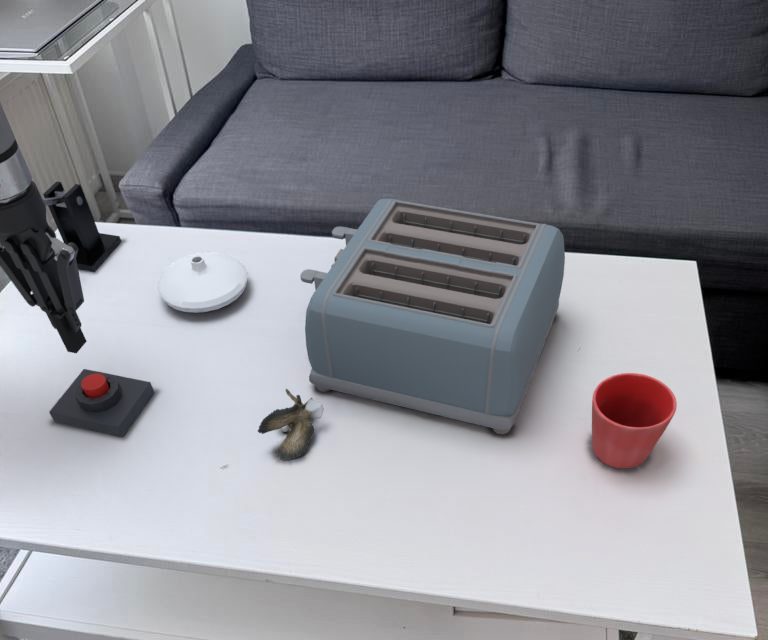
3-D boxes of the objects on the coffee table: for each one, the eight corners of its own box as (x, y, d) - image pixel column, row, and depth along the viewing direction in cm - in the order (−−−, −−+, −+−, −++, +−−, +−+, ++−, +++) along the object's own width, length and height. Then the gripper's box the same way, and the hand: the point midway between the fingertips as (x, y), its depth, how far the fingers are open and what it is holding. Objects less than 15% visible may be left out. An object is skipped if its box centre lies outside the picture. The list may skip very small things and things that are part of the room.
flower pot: (567, 433, 108) (578, 383, 101) (635, 414, 110) (651, 364, 102) (602, 486, 102) (616, 437, 95) (673, 465, 104) (693, 415, 96)
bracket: (94, 271, 138) (68, 207, 128) (52, 264, 140) (23, 201, 130) (121, 241, 144) (98, 177, 133) (81, 235, 146) (55, 171, 135)
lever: (33, 216, 123) (30, 200, 122) (7, 212, 124) (5, 196, 123) (83, 206, 134) (81, 192, 133) (59, 203, 135) (57, 189, 134)
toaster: (361, 274, 134) (354, 181, 120) (559, 312, 125) (576, 217, 111) (288, 386, 117) (270, 294, 103) (511, 440, 108) (524, 347, 94)
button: (80, 396, 112) (76, 387, 111) (93, 380, 114) (89, 371, 113) (101, 400, 112) (97, 391, 110) (113, 384, 114) (109, 375, 112)
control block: (54, 422, 114) (43, 403, 111) (88, 379, 120) (79, 359, 117) (123, 437, 112) (114, 418, 109) (154, 392, 117) (147, 373, 114)
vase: (151, 284, 135) (139, 250, 129) (233, 258, 139) (225, 223, 133) (177, 333, 126) (165, 299, 120) (264, 304, 130) (256, 269, 124)
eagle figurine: (274, 404, 113) (247, 438, 107) (295, 375, 108) (268, 408, 102) (314, 435, 114) (290, 470, 108) (337, 408, 109) (313, 443, 103)
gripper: (66, 178, 88) (130, 337, 107) (-25, 166, 91) (52, 323, 110) (30, 212, 84) (103, 371, 103) (-64, 199, 87) (23, 356, 106)
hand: (77, 346), depth 106 cm, fingers closed
